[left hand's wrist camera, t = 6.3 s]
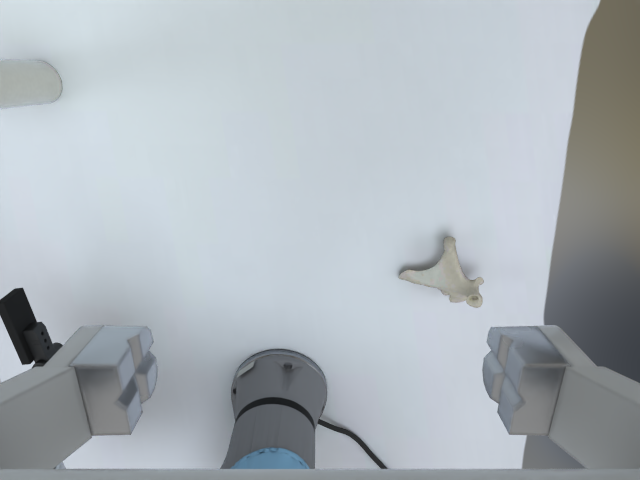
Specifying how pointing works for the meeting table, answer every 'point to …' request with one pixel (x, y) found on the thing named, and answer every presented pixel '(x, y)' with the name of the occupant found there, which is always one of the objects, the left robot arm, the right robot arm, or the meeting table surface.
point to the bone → (448, 277)
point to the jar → (27, 83)
